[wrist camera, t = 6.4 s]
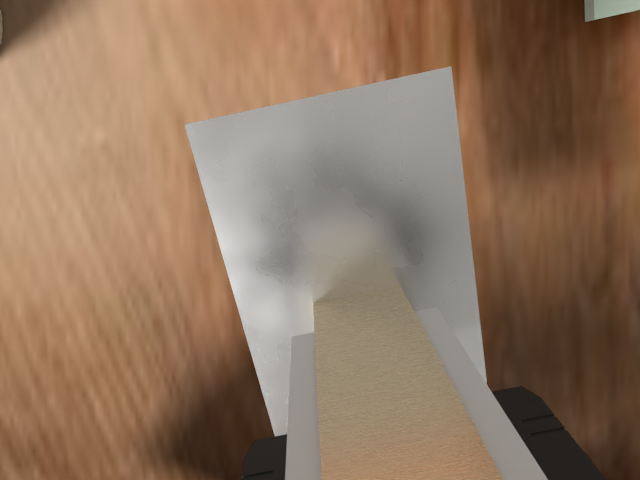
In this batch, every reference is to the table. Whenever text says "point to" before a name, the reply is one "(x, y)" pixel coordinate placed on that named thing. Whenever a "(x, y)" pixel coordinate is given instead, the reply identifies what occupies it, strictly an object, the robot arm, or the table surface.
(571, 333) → the table surface
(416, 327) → the beige post on base
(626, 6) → the rest mat
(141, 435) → the table surface
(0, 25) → the reusable coffee cup
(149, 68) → the table surface
